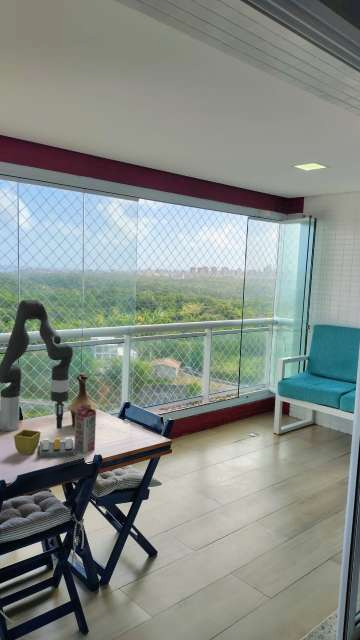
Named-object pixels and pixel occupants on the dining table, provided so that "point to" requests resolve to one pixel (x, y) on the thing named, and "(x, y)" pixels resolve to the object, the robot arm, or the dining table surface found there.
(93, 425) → the juice carton
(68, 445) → the tab right
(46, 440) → the tab left
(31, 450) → the flower pot
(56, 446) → the tab mid
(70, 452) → the panel
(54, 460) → the dining table surface
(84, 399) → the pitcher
